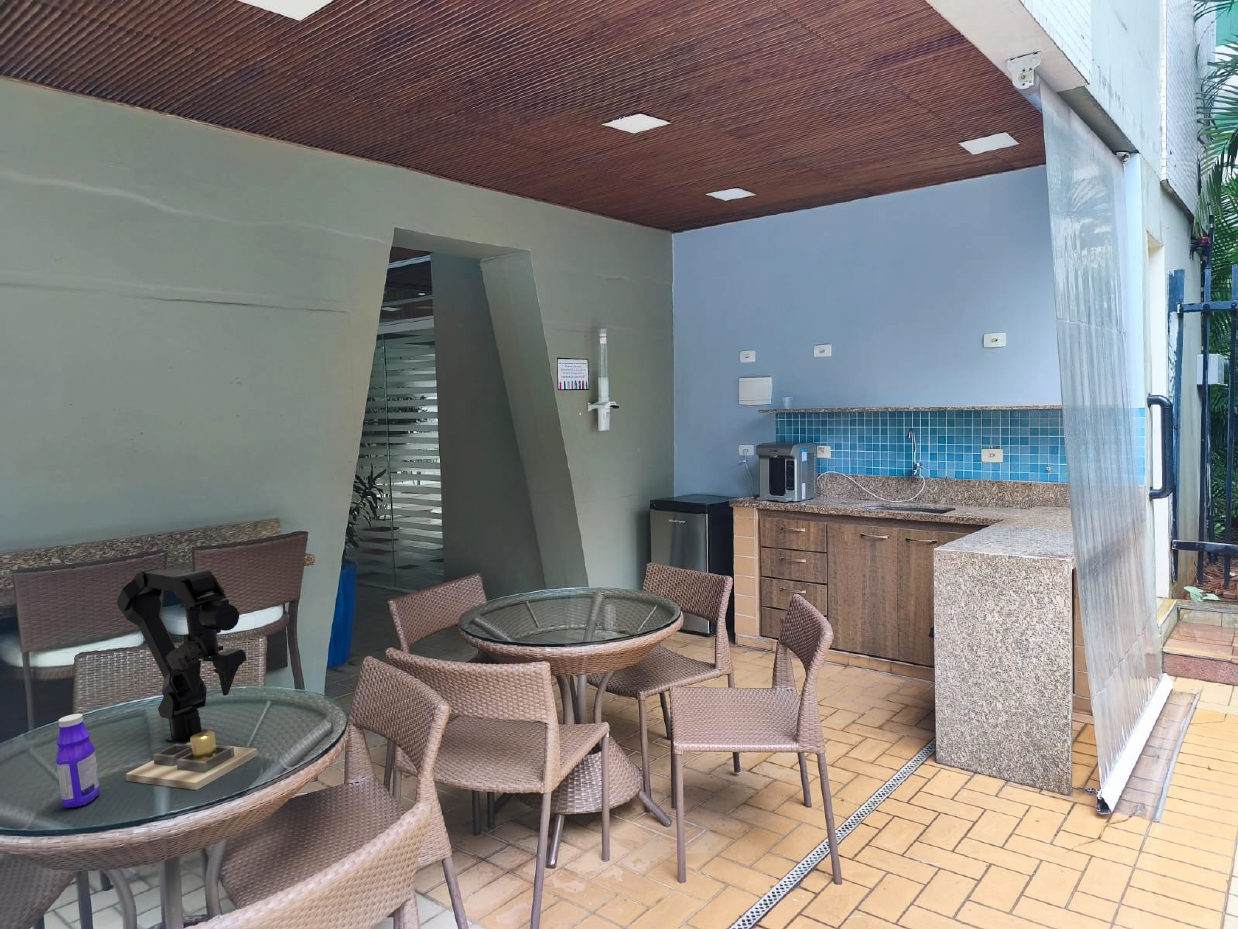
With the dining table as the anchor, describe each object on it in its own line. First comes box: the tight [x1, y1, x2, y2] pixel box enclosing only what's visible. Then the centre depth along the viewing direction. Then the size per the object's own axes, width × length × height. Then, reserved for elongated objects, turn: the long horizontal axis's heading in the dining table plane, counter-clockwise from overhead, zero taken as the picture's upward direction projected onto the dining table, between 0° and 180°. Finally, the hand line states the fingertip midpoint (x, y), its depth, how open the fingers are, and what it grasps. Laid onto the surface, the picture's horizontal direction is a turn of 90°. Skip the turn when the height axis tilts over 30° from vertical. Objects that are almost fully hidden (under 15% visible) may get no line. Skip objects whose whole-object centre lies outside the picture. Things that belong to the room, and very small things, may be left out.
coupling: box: [190, 730, 217, 761], centre depth 177 cm, size 5×5×6 cm
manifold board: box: [125, 741, 258, 791], centre depth 179 cm, size 20×16×4 cm
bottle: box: [55, 713, 101, 809], centre depth 167 cm, size 7×6×17 cm
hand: (210, 694), depth 190 cm, fingers open, 9 cm apart
